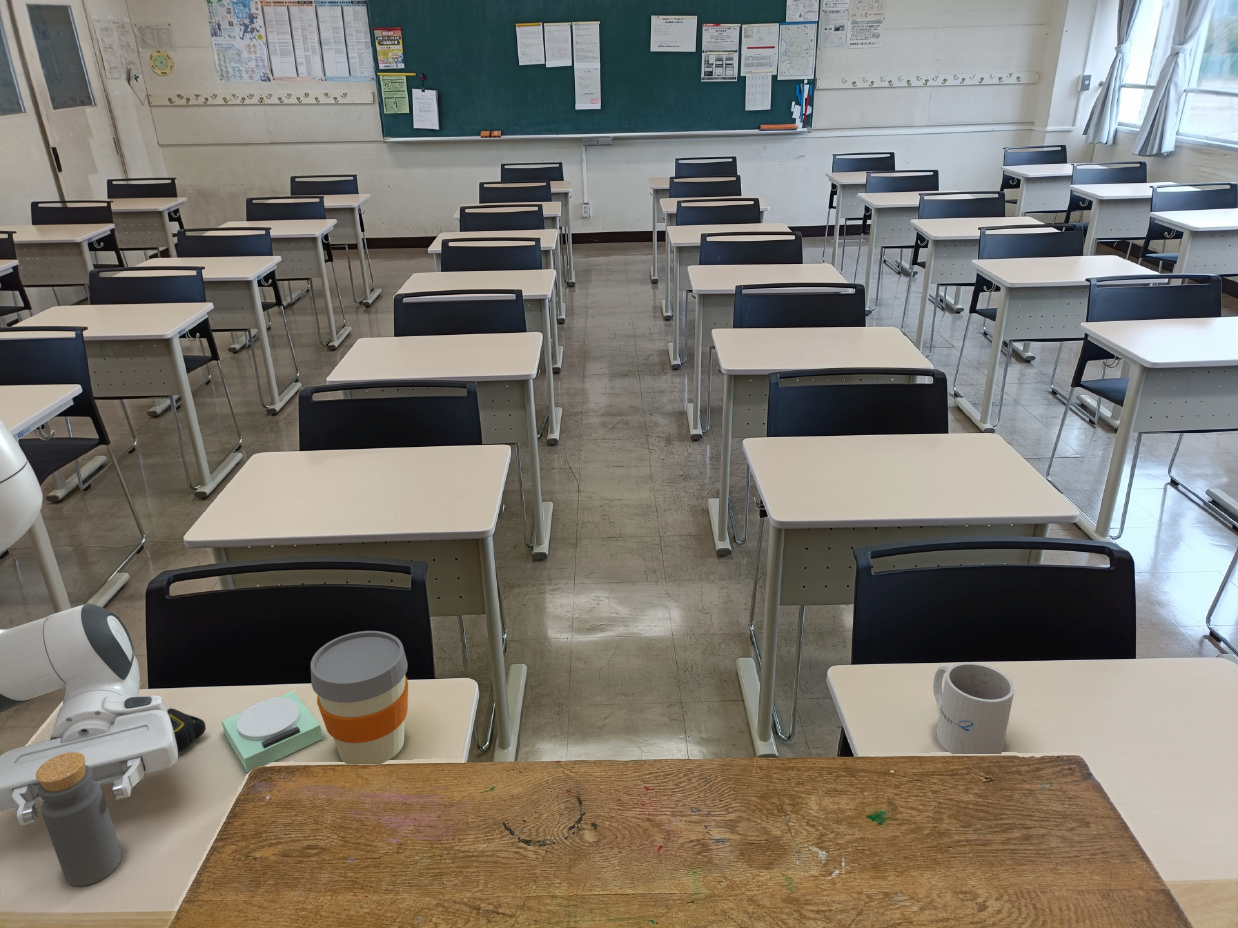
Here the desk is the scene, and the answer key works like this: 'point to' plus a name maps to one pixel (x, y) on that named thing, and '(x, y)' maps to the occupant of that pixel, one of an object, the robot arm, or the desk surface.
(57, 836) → the bottle
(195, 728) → the tape measure
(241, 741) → the scale
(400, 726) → the reusable coffee cup
